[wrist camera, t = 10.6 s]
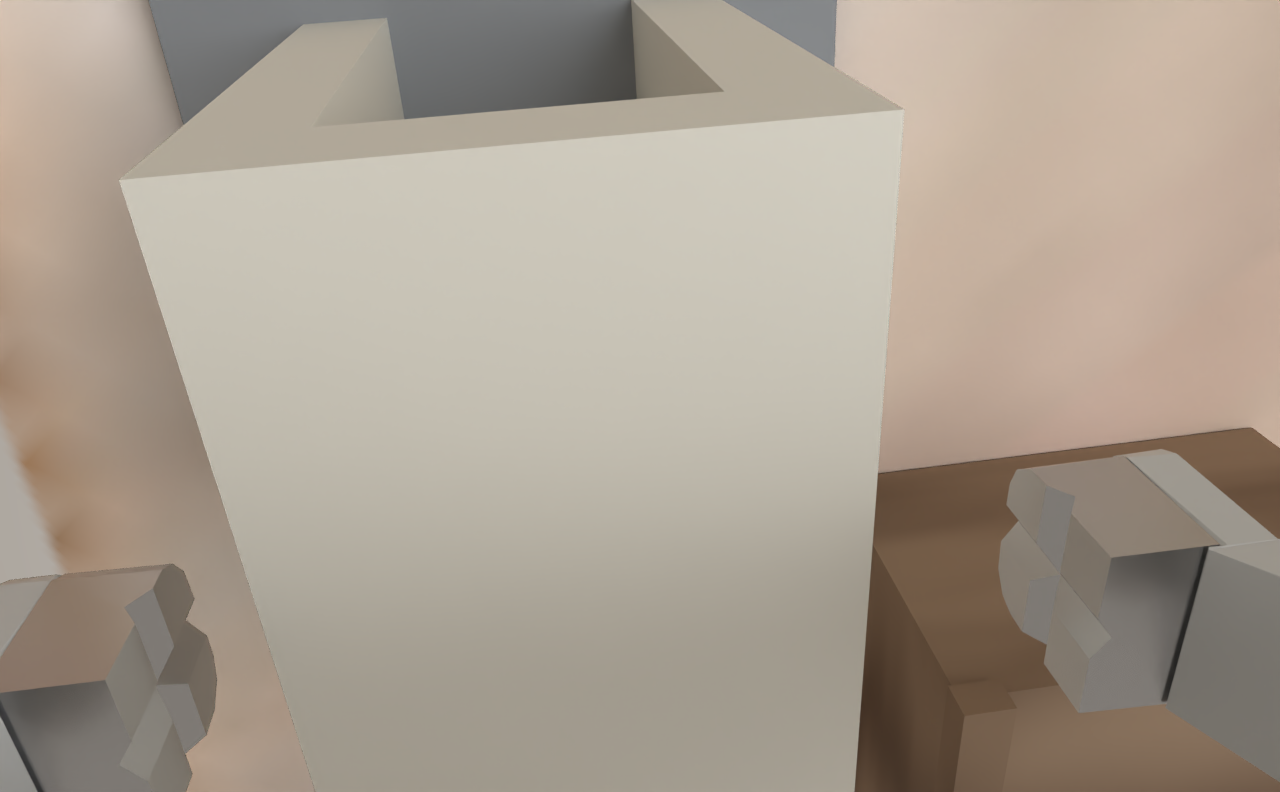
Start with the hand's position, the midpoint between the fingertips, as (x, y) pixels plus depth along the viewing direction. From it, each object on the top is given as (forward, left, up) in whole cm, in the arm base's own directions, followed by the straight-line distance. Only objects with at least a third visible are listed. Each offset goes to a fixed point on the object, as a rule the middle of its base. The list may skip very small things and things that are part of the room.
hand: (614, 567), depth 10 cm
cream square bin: (0, 0, -8) cm, 8 cm away
